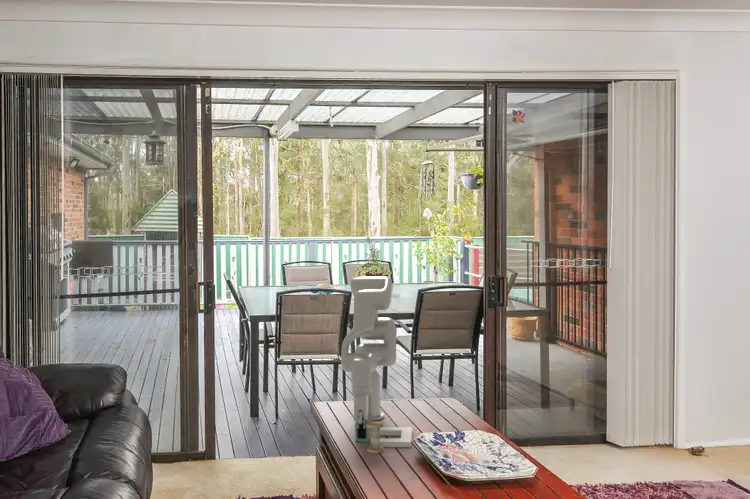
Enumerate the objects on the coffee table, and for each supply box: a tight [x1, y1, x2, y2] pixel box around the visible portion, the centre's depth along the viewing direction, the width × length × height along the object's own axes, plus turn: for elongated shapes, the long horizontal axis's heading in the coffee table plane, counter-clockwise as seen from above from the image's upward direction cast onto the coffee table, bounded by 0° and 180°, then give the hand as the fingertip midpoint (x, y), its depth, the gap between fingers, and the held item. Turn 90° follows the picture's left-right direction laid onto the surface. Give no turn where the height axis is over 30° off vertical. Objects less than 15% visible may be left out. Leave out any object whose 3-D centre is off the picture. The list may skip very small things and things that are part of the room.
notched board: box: [380, 426, 414, 448], centre depth 292 cm, size 18×14×2 cm
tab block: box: [354, 419, 370, 442], centre depth 293 cm, size 5×5×7 cm
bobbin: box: [366, 420, 384, 454], centre depth 279 cm, size 6×6×10 cm
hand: (362, 435), depth 293 cm, fingers closed on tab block, 4 cm apart
